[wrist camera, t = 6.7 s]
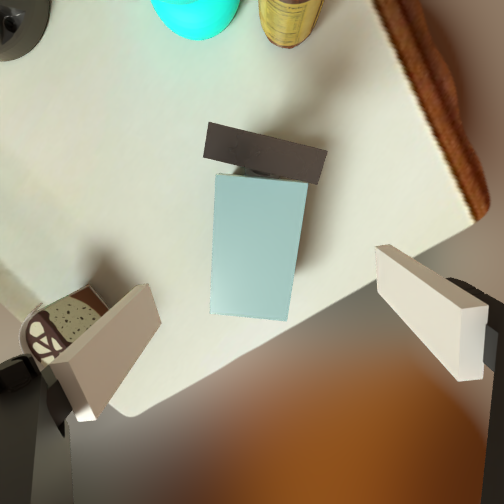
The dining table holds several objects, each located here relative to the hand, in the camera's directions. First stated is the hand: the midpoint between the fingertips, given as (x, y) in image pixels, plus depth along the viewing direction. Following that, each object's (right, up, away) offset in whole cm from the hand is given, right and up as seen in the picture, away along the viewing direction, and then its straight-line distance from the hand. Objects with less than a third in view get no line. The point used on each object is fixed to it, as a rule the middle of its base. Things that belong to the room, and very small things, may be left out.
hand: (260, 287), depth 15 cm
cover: (0, +3, +17) cm, 18 cm away
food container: (-26, -8, +28) cm, 39 cm away
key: (+1, +14, +17) cm, 22 cm away
